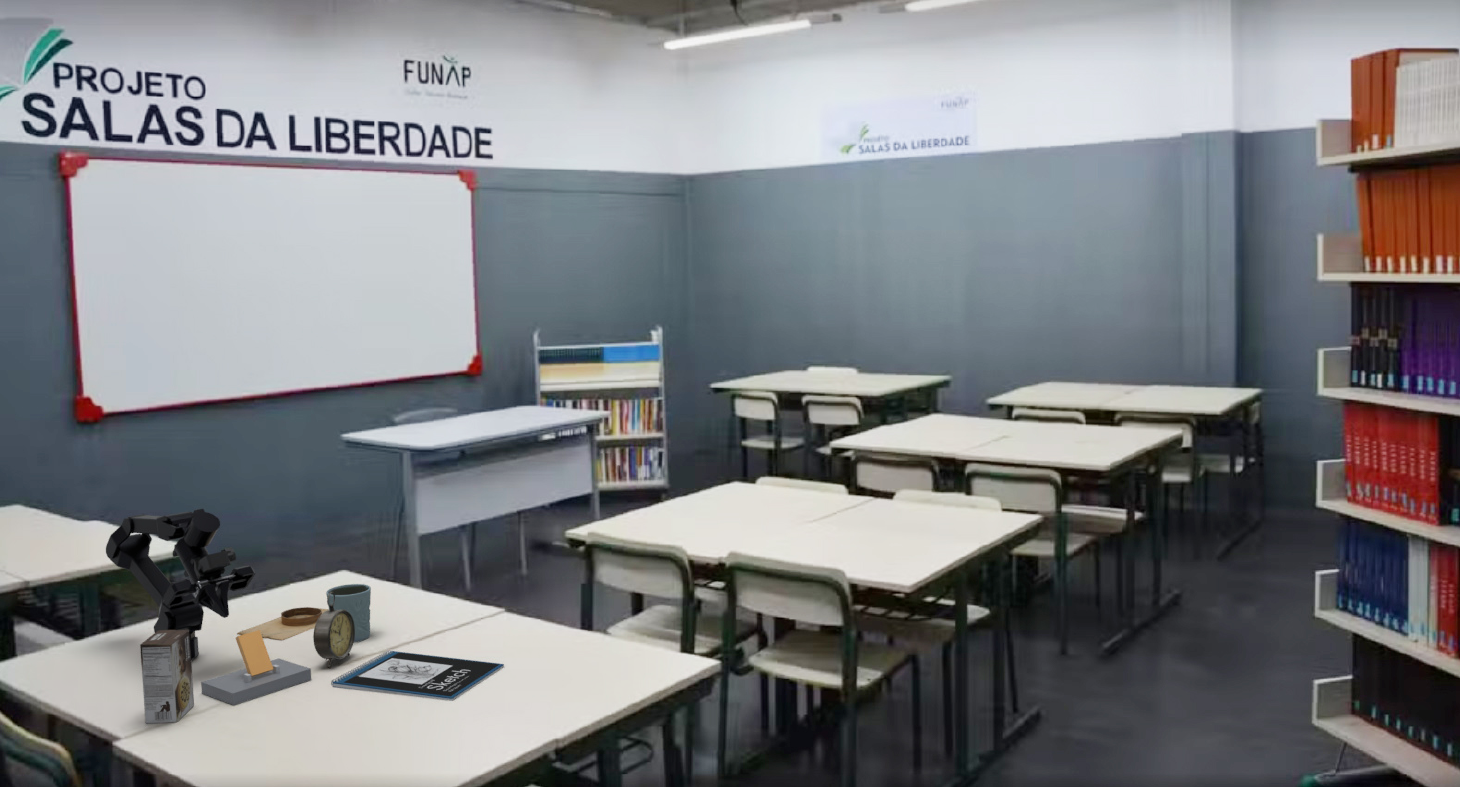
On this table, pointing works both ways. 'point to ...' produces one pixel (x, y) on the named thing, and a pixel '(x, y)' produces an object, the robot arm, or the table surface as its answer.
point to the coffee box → (167, 676)
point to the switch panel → (255, 682)
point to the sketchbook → (417, 675)
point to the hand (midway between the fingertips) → (226, 616)
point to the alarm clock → (334, 633)
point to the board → (288, 623)
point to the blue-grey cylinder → (354, 606)
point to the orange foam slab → (254, 653)
